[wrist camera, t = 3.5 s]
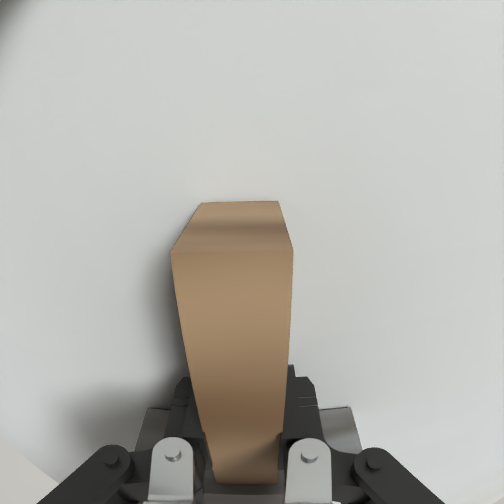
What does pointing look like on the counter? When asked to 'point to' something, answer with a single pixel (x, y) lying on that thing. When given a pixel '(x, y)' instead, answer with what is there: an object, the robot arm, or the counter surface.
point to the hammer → (239, 348)
